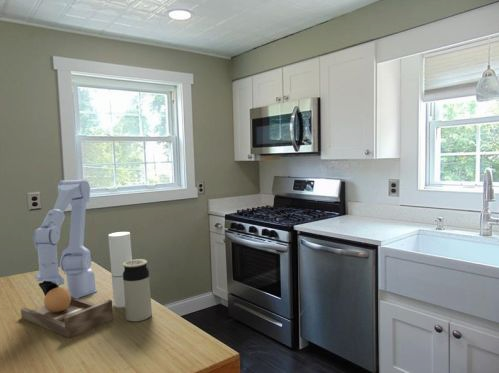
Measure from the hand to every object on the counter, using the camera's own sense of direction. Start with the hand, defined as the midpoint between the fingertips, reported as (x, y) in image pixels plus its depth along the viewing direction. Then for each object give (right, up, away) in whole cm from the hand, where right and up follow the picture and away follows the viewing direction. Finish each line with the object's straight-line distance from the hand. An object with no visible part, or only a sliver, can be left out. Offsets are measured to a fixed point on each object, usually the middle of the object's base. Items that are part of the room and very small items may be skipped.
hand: (51, 302), depth 128 cm
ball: (+3, +1, -2) cm, 4 cm away
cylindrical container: (+23, -3, +7) cm, 24 cm away
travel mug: (+31, -3, -6) cm, 32 cm away
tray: (+7, -4, -4) cm, 9 cm away
